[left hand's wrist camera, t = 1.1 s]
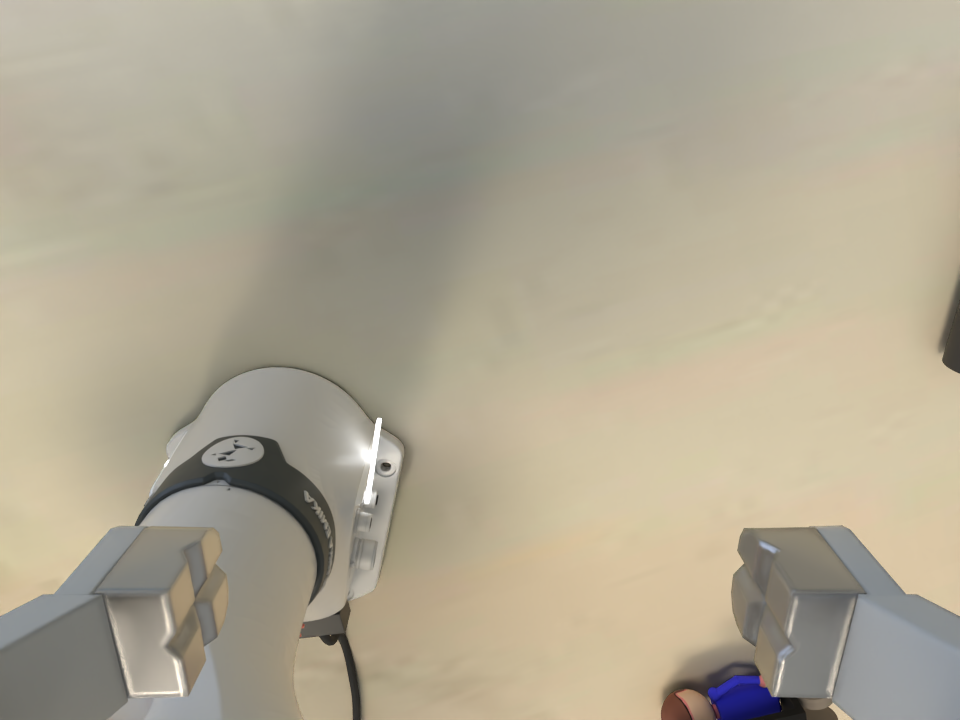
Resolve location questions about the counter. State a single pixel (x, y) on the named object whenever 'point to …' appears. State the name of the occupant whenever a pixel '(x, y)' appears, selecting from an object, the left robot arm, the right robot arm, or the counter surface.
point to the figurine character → (743, 703)
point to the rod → (953, 345)
